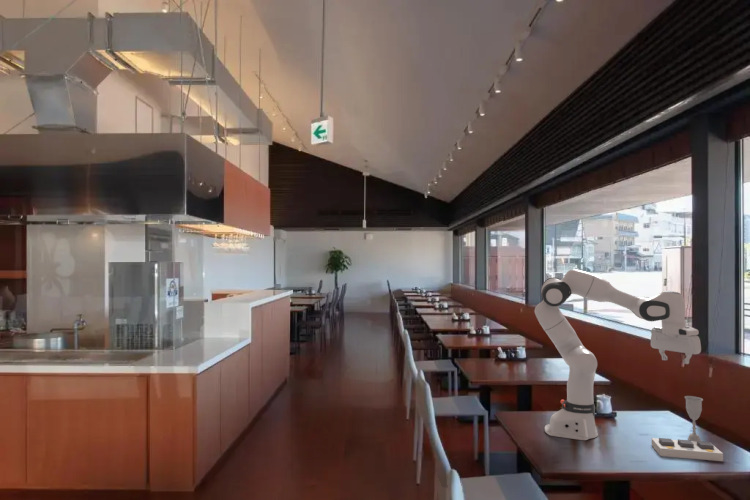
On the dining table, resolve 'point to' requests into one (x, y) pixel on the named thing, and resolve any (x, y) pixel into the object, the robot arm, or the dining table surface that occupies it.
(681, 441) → the button middle
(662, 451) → the panel
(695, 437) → the chalice
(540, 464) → the dining table surface
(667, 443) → the button left
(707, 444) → the button right
